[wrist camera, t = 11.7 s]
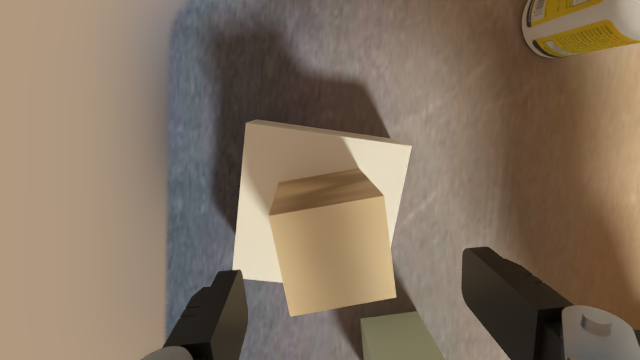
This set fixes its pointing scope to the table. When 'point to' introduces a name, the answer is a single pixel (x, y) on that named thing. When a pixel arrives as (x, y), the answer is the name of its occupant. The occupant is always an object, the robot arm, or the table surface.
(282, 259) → the oak cube
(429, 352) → the sage cube
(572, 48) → the supplement bottle
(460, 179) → the table surface
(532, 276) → the robot arm
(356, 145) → the cream base block
